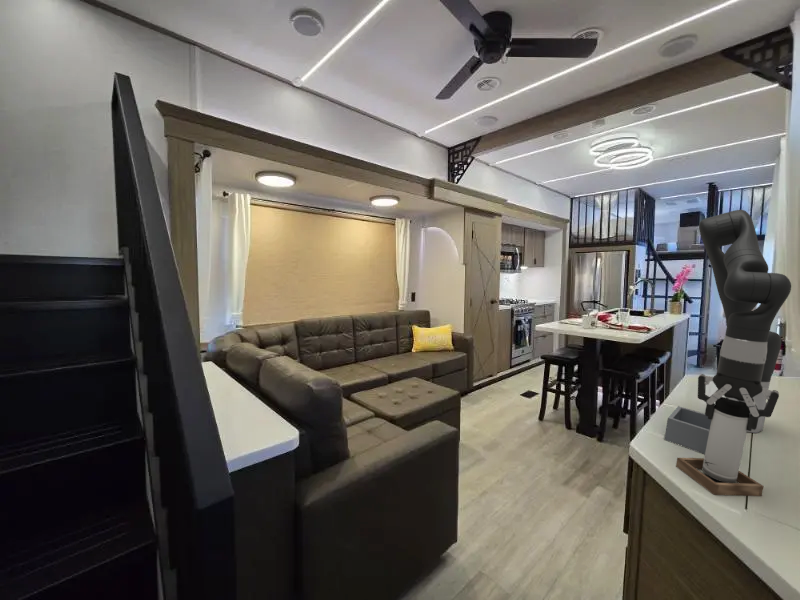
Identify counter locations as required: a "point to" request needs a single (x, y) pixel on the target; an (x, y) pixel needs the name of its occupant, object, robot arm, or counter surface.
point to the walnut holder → (743, 486)
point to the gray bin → (688, 429)
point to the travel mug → (726, 439)
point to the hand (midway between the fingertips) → (728, 423)
